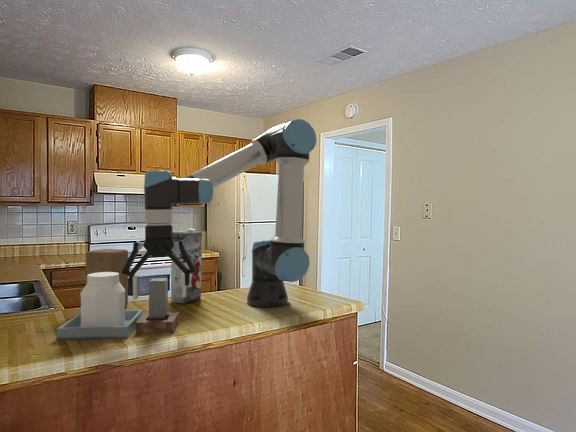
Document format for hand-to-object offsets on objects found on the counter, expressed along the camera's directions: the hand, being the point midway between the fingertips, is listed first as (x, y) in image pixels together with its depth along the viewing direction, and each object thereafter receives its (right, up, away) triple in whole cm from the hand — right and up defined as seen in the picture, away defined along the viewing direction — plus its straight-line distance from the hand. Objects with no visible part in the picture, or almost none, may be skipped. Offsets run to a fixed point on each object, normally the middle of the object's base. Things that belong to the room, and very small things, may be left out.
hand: (160, 297), depth 116 cm
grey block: (-1, -9, 0) cm, 9 cm away
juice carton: (-1, -8, +33) cm, 34 cm away
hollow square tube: (-1, -9, 0) cm, 9 cm away
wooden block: (-24, -8, +20) cm, 33 cm away
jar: (-16, -8, -2) cm, 18 cm away
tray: (-15, -9, -2) cm, 18 cm away
